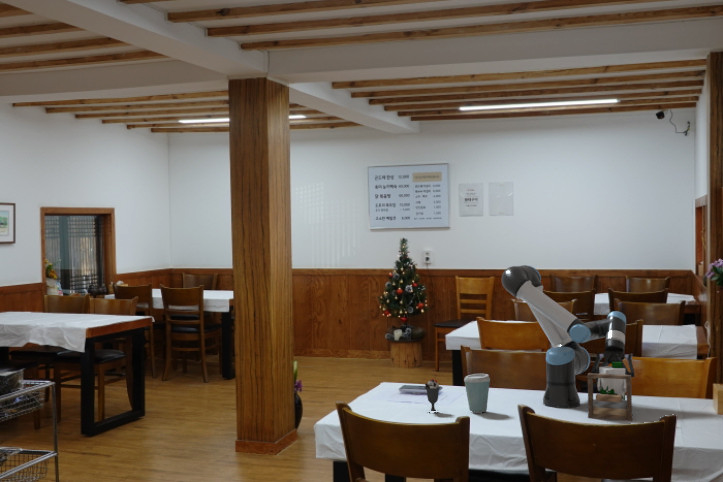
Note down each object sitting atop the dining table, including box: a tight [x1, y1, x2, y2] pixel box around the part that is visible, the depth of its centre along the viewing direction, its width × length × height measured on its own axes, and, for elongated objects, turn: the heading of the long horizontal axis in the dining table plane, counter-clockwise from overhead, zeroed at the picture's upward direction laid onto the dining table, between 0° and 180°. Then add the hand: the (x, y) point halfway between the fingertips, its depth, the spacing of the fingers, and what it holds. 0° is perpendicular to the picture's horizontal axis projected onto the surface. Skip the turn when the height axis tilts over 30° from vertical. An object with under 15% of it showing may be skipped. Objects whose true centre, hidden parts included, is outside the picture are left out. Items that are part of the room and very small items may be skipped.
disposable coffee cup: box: [463, 373, 491, 414], centre depth 311 cm, size 11×11×15 cm
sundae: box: [424, 374, 441, 411], centre depth 312 cm, size 7×7×15 cm
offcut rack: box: [587, 372, 634, 422], centre depth 295 cm, size 16×6×17 cm, turn 66°
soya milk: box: [598, 362, 626, 400], centre depth 304 cm, size 9×9×20 cm
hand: (611, 389), depth 301 cm, fingers closed on soya milk, 9 cm apart
